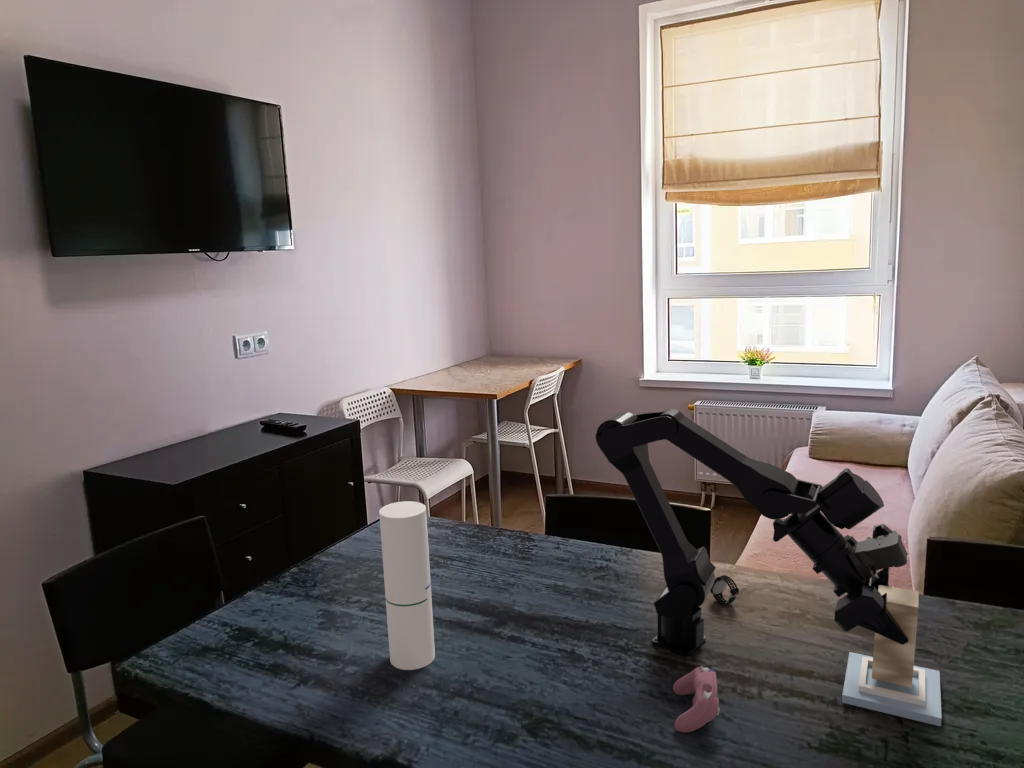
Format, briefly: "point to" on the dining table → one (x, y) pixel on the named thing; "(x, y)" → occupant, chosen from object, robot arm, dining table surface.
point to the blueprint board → (893, 691)
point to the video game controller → (698, 699)
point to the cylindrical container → (407, 584)
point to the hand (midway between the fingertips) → (906, 633)
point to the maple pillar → (889, 655)
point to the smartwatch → (720, 586)
